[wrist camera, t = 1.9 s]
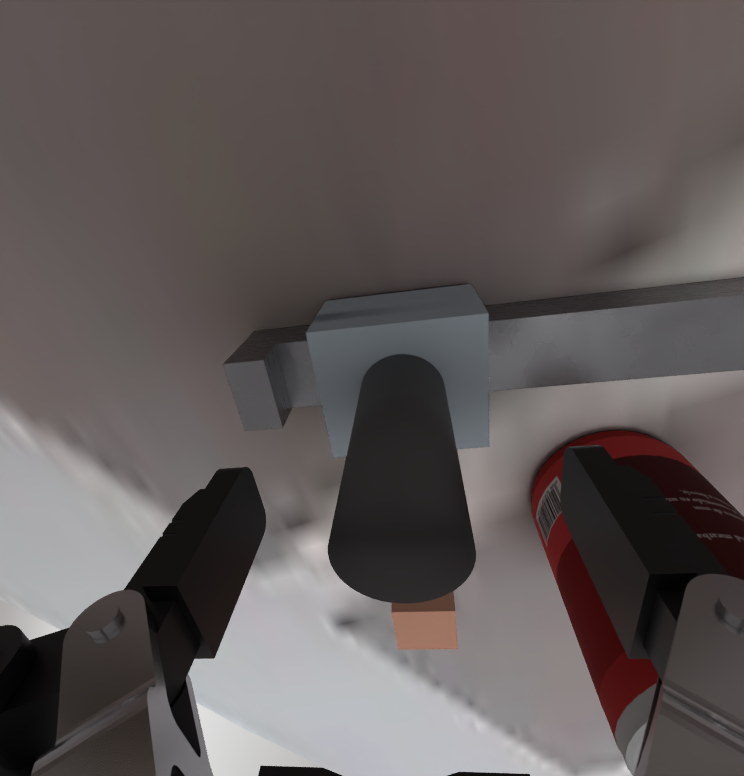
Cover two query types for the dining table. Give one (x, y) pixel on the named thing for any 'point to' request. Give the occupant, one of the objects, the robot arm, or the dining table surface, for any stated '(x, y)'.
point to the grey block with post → (404, 446)
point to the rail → (534, 345)
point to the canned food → (584, 606)
